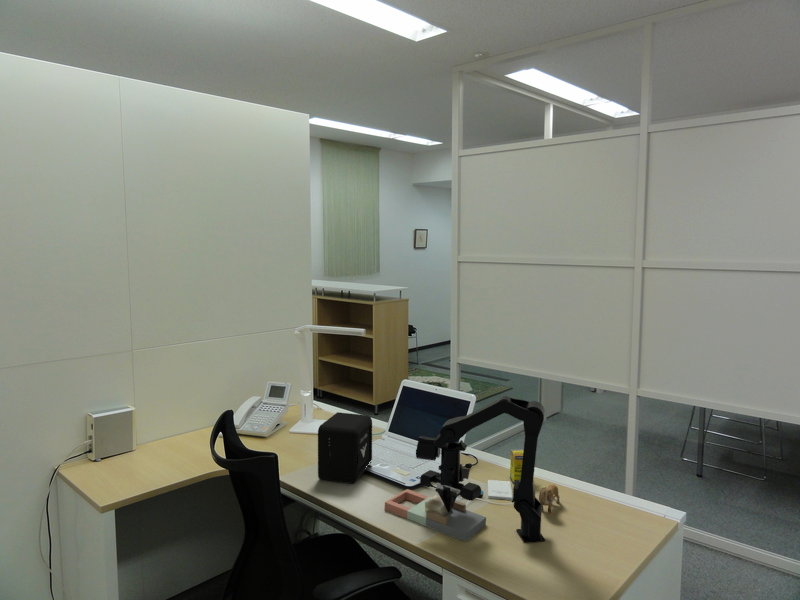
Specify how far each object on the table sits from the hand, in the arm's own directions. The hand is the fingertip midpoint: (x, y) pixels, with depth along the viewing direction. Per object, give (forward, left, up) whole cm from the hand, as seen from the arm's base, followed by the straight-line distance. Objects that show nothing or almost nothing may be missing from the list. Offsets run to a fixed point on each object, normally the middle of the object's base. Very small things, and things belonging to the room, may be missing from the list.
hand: (449, 511), depth 161 cm
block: (+3, +3, -1) cm, 4 cm away
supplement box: (+26, -32, -4) cm, 42 cm away
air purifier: (+40, +30, -4) cm, 50 cm away
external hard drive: (+19, -22, -4) cm, 30 cm away
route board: (+4, +4, -4) cm, 7 cm away
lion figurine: (+5, -35, -4) cm, 35 cm away
